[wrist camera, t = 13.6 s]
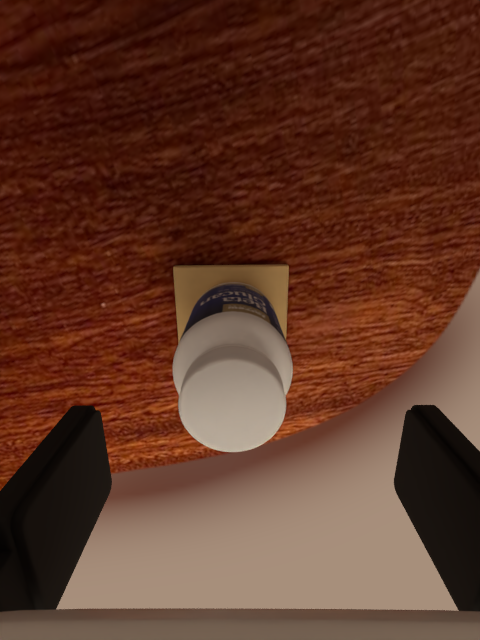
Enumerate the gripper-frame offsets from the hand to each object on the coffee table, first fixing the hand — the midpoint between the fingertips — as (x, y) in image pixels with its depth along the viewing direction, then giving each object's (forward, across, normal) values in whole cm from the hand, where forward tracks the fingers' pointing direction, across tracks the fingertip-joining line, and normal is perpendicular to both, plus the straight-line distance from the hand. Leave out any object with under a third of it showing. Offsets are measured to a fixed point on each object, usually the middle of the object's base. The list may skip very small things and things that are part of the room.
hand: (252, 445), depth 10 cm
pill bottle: (+12, +1, 0) cm, 12 cm away
